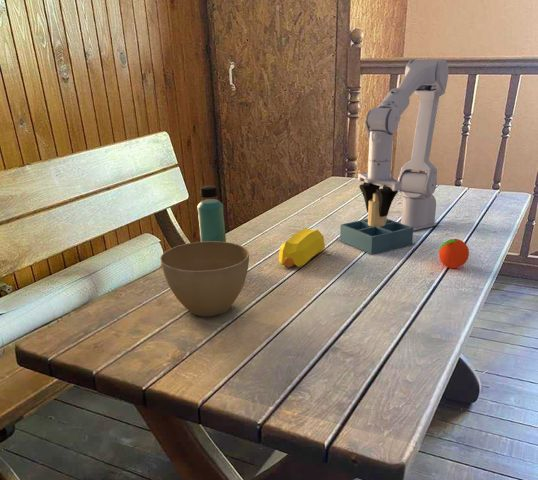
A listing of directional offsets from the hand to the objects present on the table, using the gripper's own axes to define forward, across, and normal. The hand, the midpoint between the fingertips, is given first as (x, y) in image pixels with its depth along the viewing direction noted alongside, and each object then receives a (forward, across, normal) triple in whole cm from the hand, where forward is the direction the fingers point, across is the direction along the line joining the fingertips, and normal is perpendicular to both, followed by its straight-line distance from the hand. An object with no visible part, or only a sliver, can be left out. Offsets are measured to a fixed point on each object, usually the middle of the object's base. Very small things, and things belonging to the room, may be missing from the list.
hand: (377, 213), depth 151 cm
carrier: (+9, -4, +3) cm, 11 cm away
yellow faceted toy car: (+10, -4, -20) cm, 23 cm away
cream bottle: (+3, 0, 0) cm, 3 cm away
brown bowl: (+10, +11, -53) cm, 55 cm away
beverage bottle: (+10, -12, -41) cm, 44 cm away
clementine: (+10, +22, +6) cm, 24 cm away
